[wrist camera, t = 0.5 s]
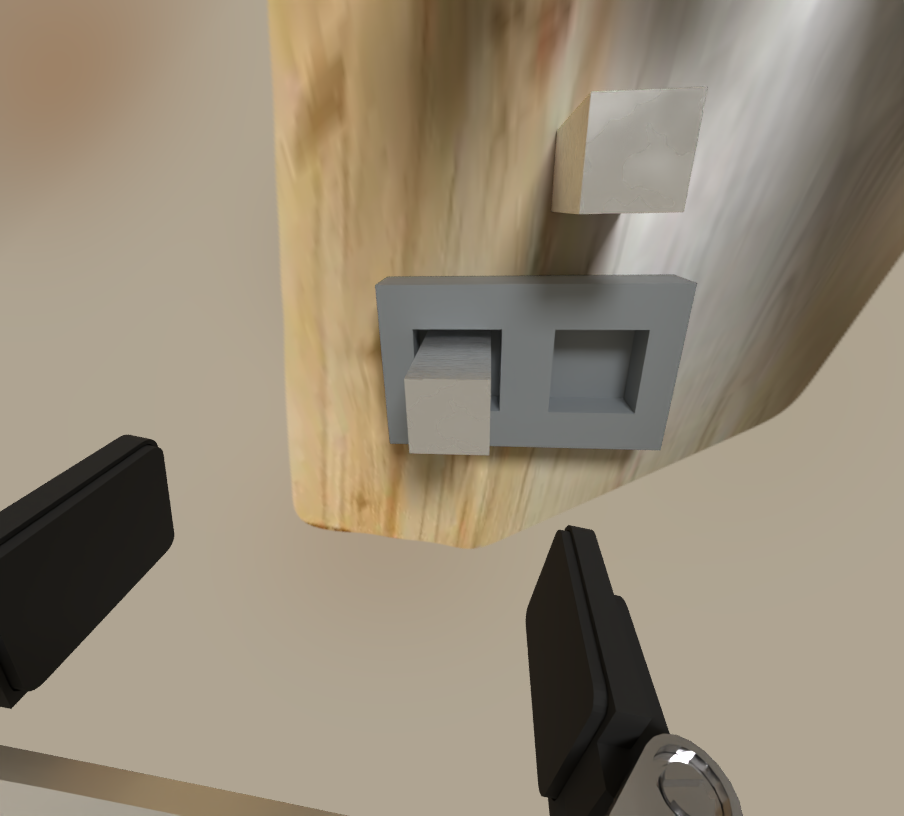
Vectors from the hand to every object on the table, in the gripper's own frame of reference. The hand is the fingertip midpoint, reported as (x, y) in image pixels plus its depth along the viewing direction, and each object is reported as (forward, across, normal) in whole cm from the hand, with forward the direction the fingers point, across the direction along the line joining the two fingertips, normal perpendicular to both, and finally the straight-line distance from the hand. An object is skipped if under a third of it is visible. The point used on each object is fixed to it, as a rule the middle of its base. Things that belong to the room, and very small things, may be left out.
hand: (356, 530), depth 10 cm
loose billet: (+27, -8, -11) cm, 30 cm away
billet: (+26, -2, +4) cm, 27 cm away
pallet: (+27, -7, +3) cm, 28 cm away
